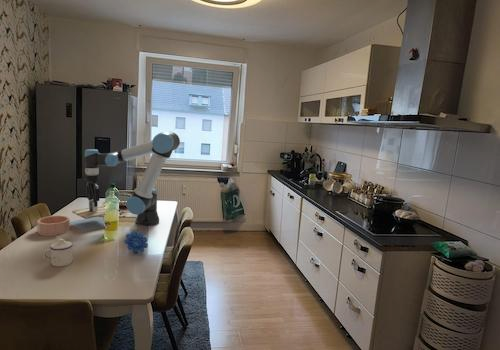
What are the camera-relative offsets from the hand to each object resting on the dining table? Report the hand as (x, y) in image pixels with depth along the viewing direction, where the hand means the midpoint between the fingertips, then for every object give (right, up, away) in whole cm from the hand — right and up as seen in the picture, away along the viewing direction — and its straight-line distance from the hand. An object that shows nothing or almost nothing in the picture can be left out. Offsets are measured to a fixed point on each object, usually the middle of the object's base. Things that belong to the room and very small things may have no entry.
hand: (93, 210), depth 209 cm
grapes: (+40, -19, -37) cm, 58 cm away
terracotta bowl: (-16, -11, -14) cm, 24 cm away
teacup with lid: (+9, -19, -53) cm, 57 cm away
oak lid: (0, -2, 0) cm, 2 cm away
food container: (+2, -1, +48) cm, 48 cm away
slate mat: (-1, -9, +2) cm, 9 cm away
